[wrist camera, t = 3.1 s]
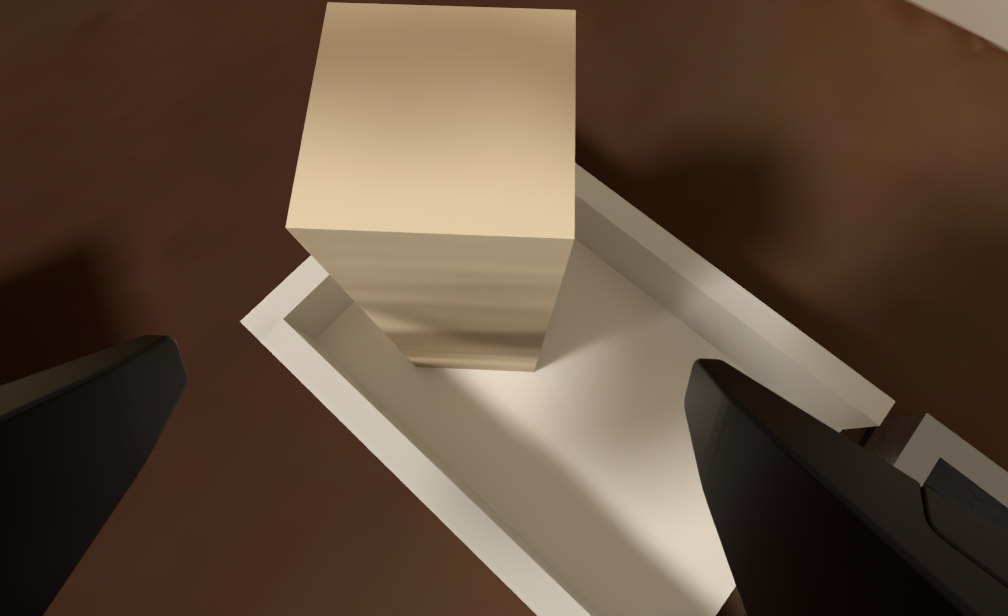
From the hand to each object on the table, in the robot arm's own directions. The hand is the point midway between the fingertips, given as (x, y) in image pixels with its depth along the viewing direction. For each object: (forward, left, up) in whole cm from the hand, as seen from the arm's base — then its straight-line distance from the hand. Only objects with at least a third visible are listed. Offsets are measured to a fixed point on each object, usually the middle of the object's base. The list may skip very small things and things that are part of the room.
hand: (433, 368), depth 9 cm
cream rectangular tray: (+3, -1, -11) cm, 12 cm away
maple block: (+3, +3, -10) cm, 11 cm away
